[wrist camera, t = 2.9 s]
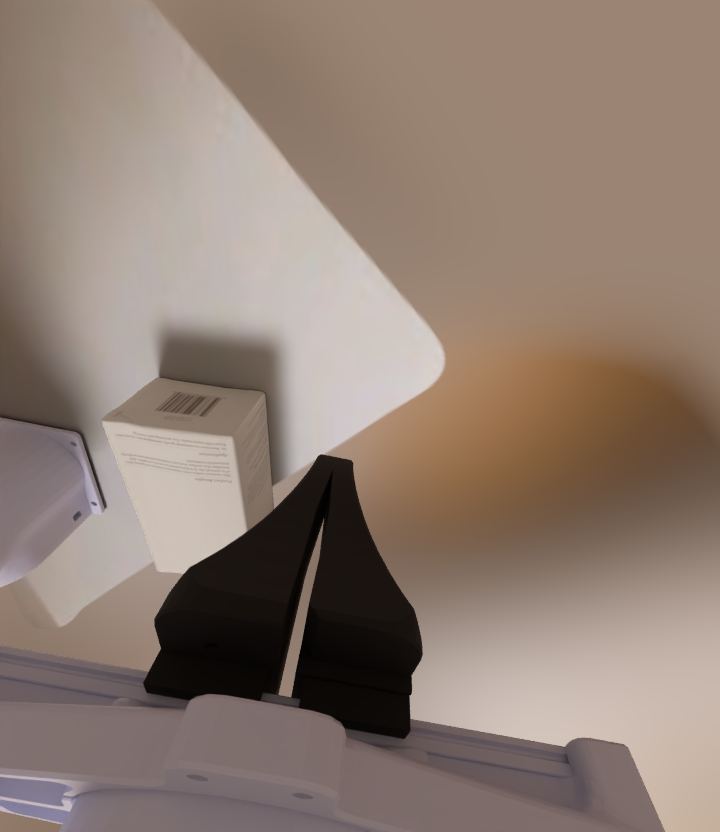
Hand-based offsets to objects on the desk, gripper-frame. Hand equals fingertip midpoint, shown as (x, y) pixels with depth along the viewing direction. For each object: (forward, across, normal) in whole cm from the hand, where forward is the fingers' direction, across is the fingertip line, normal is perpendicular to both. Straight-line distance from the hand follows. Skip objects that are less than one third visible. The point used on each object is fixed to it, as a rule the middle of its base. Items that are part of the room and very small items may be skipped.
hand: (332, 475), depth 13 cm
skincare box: (+7, +10, +3) cm, 13 cm away
